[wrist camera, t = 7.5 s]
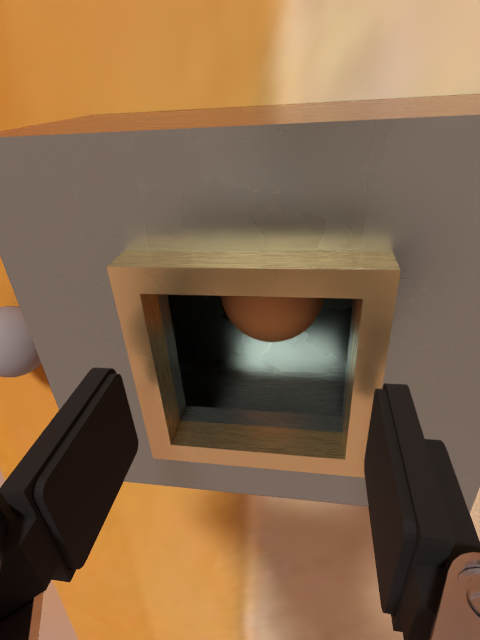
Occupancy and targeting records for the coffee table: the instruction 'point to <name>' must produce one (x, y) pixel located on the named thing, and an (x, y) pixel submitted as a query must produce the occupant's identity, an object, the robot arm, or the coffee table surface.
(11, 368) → the bead
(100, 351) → the grey box with opening
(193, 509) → the coffee table surface
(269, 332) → the bead
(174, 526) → the coffee table surface
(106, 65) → the coffee table surface
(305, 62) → the coffee table surface
